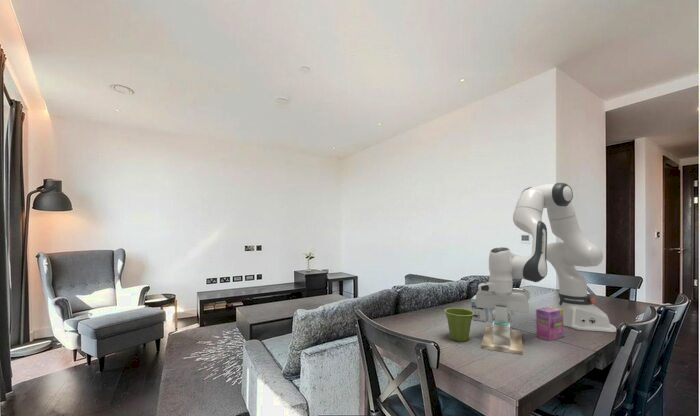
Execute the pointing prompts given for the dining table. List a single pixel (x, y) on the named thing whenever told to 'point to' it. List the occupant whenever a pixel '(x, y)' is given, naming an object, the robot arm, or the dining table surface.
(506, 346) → the board
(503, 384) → the dining table surface
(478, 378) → the dining table surface
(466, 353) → the dining table surface
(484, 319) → the light bulb box
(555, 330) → the box
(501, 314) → the block
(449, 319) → the plant pot
